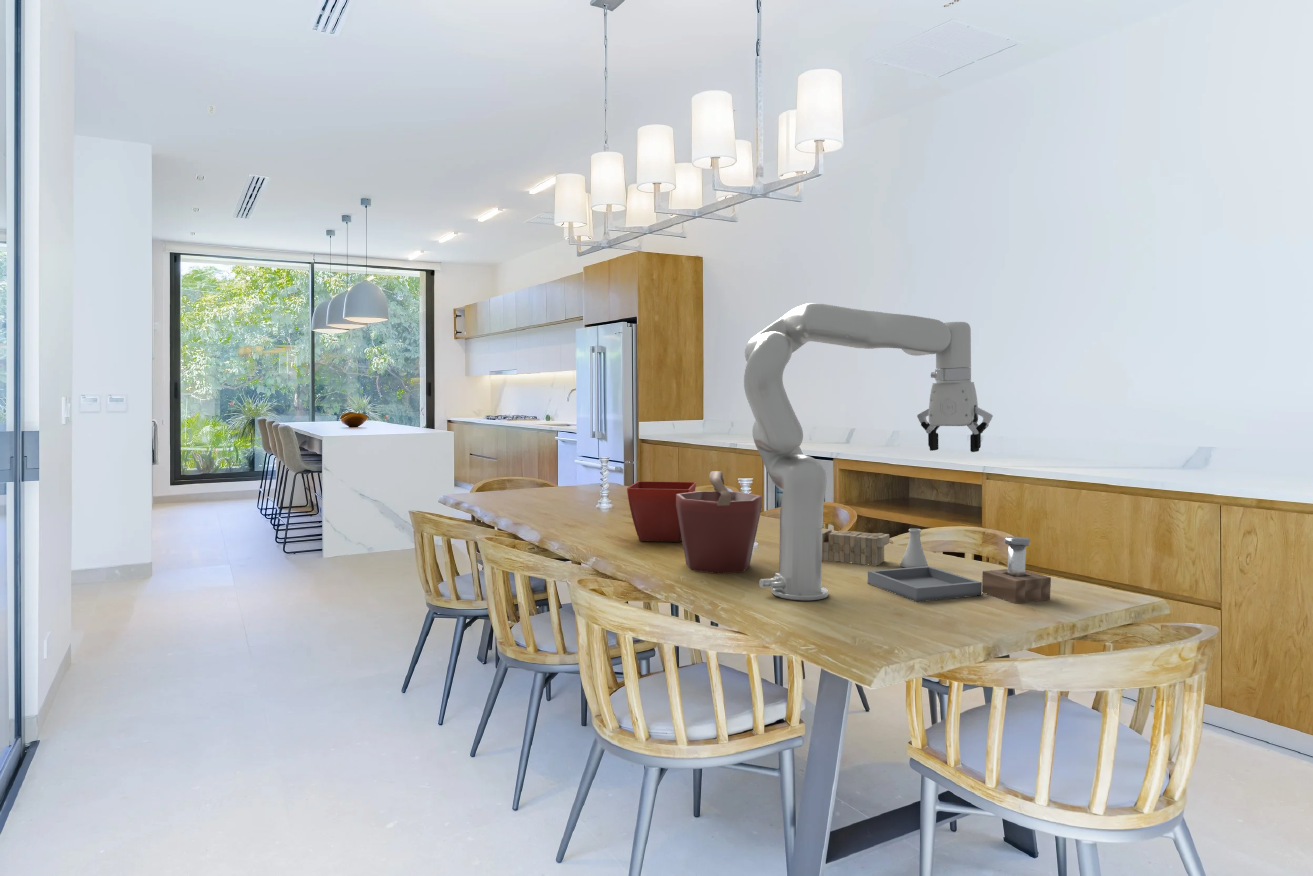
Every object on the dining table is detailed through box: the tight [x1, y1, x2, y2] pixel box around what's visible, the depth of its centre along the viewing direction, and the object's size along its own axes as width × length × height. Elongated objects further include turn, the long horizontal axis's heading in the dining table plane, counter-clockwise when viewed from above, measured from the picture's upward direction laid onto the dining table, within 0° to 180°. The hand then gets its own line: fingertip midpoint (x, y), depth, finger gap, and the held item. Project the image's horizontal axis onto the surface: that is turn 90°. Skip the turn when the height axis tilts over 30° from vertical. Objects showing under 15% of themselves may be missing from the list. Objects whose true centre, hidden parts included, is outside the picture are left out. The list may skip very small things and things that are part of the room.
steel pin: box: [1004, 536, 1031, 577], centre depth 183 cm, size 5×5×13 cm
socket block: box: [981, 568, 1052, 604], centre depth 183 cm, size 10×10×5 cm
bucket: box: [676, 470, 763, 575], centre depth 211 cm, size 24×22×25 cm
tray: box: [867, 565, 982, 602], centre depth 189 cm, size 18×18×3 cm
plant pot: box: [626, 480, 697, 543], centre depth 251 cm, size 19×19×17 cm
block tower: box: [822, 528, 890, 566], centre depth 223 cm, size 8×8×29 cm
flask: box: [899, 528, 929, 568], centre depth 213 cm, size 7×7×10 cm
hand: (954, 450), depth 186 cm, fingers open, 9 cm apart
